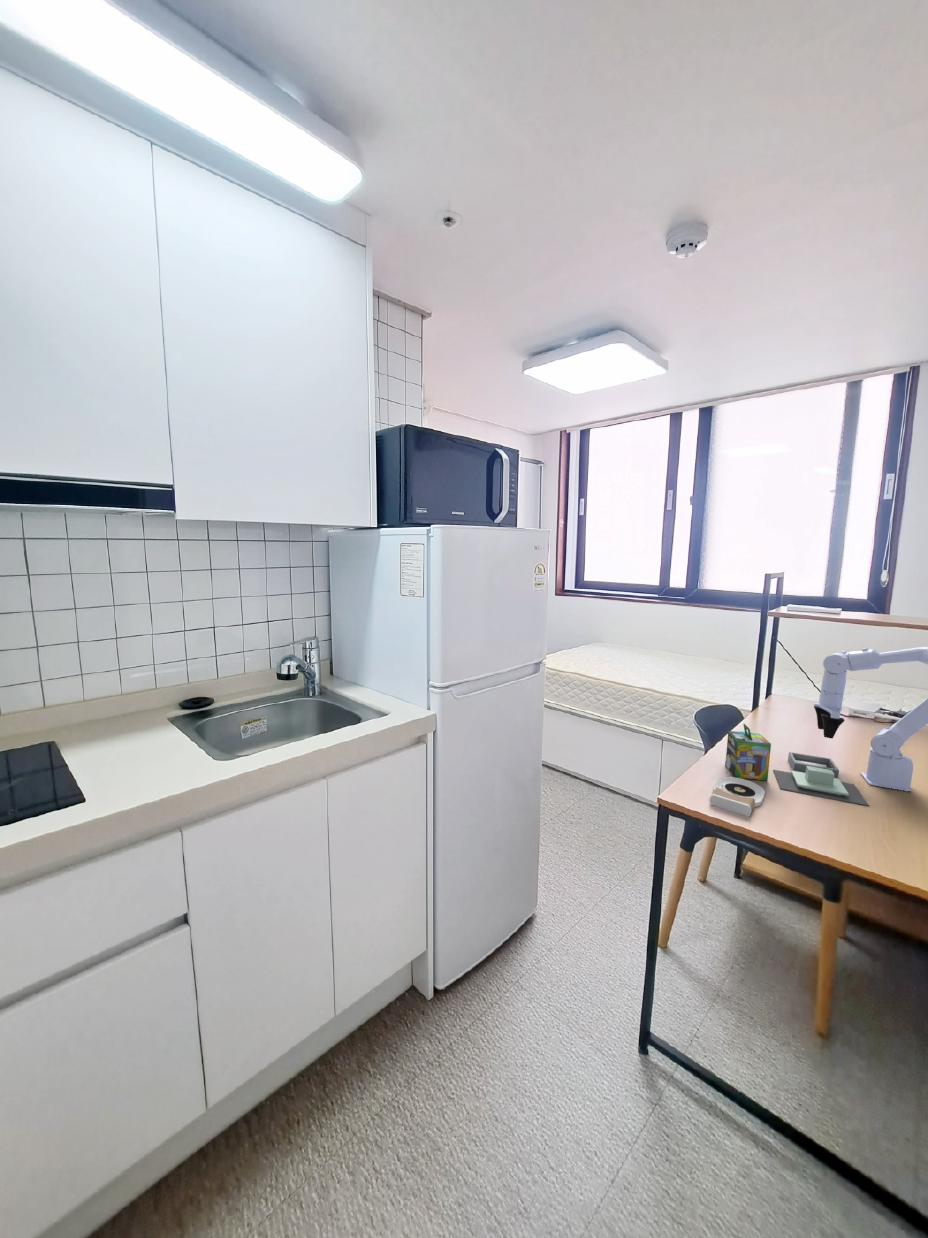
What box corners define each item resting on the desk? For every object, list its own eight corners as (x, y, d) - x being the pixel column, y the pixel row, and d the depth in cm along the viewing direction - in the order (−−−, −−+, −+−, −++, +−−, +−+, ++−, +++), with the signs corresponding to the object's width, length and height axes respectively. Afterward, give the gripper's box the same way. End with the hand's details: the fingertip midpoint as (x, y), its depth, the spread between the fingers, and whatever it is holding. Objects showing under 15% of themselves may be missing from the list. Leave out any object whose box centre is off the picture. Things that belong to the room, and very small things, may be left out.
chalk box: (768, 782, 140) (774, 733, 138) (733, 778, 142) (739, 730, 140) (756, 768, 149) (761, 722, 147) (723, 764, 151) (728, 719, 149)
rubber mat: (853, 785, 139) (854, 784, 139) (869, 806, 128) (869, 805, 128) (773, 770, 148) (773, 769, 148) (780, 789, 136) (780, 788, 136)
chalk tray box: (829, 769, 150) (830, 758, 150) (837, 781, 142) (839, 770, 142) (787, 762, 155) (788, 751, 154) (793, 773, 147) (794, 762, 146)
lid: (838, 783, 140) (840, 767, 139) (848, 798, 131) (850, 781, 130) (790, 774, 144) (792, 759, 144) (797, 789, 136) (799, 772, 135)
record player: (705, 792, 128) (722, 768, 143) (704, 803, 128) (721, 778, 143) (756, 808, 120) (768, 781, 136) (755, 820, 121) (767, 791, 136)
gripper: (811, 683, 157) (804, 723, 159) (822, 696, 144) (815, 738, 146) (837, 687, 154) (830, 727, 156) (851, 700, 141) (843, 743, 143)
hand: (825, 733), depth 151 cm, fingers open, 7 cm apart
